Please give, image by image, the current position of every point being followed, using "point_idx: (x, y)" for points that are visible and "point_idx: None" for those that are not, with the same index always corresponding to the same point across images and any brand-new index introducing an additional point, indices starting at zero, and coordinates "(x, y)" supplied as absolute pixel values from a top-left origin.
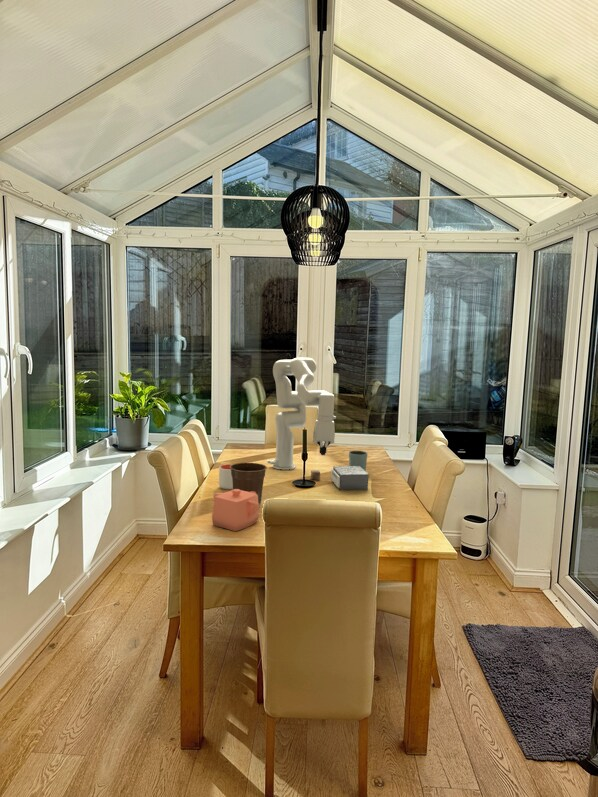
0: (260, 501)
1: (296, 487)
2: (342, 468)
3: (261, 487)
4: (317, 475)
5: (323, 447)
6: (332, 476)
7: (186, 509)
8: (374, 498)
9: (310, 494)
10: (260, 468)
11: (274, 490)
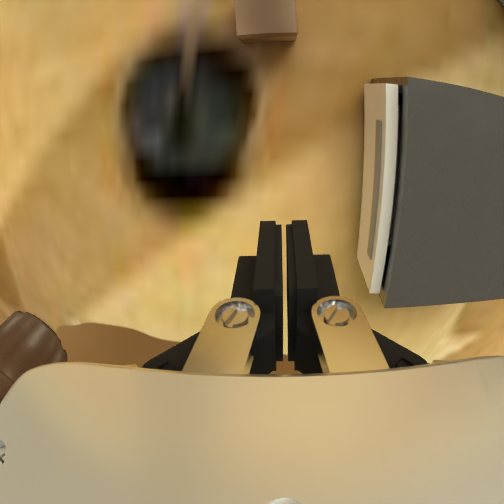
0: (65, 359)
1: (142, 199)
2: (457, 157)
3: None
4: (277, 36)
5: (288, 334)
6: (372, 123)
7: None
8: (446, 341)
9: (207, 300)
10: (2, 391)
11: (64, 244)
